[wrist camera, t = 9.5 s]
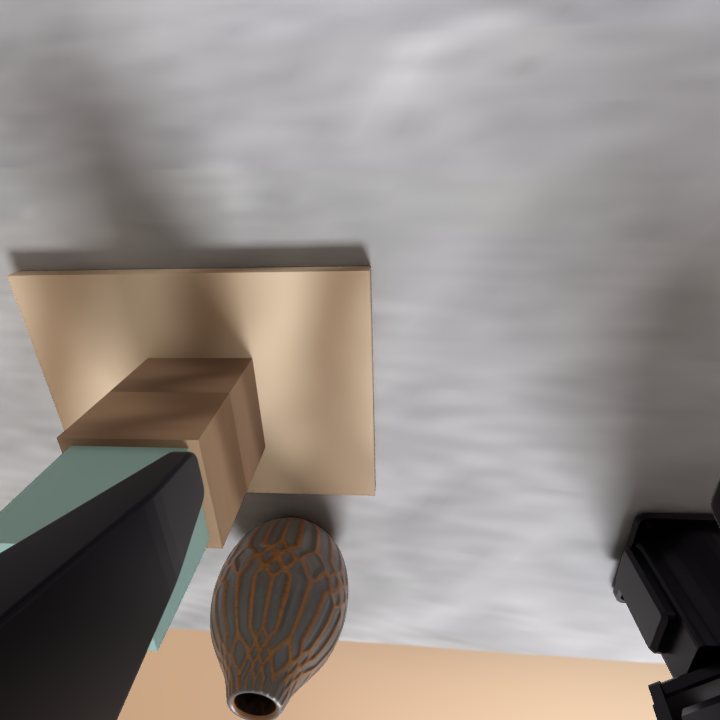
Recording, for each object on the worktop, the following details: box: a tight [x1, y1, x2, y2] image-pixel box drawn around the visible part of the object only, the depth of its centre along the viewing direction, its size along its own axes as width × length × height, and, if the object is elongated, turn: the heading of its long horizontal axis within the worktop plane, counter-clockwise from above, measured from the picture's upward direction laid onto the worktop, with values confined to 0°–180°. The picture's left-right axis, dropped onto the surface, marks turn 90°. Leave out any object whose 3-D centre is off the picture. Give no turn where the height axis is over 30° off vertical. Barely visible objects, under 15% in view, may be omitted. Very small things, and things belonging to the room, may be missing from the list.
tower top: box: [57, 392, 247, 549], centre depth 18 cm, size 5×5×3 cm
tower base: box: [110, 358, 265, 490], centre depth 21 cm, size 5×5×3 cm
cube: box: [0, 446, 210, 651], centre depth 15 cm, size 4×4×4 cm
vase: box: [210, 518, 348, 720], centre depth 23 cm, size 7×7×9 cm
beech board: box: [7, 266, 376, 496], centre depth 22 cm, size 16×12×1 cm
